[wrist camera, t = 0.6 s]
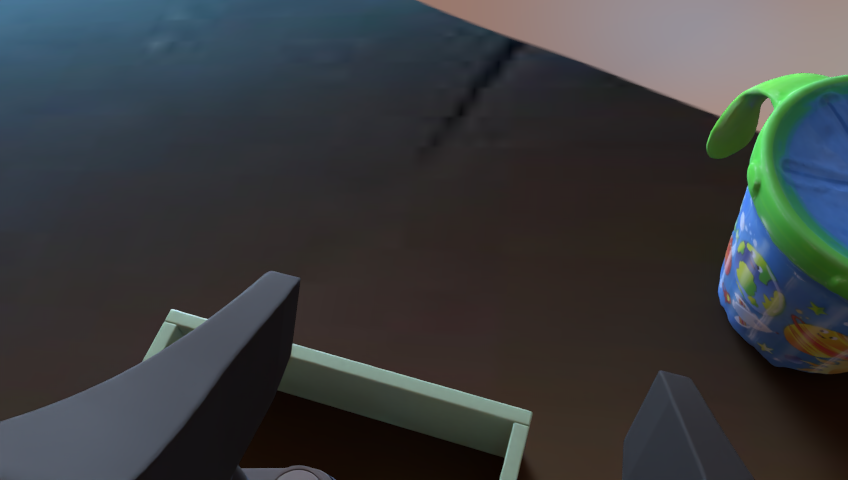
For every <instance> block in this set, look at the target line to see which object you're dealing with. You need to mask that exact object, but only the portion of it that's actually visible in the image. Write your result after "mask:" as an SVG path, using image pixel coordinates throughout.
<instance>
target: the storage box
mask: <svg viewBox="0 0 848 480" xmlns="http://www.w3.org/2000/svg"><path fill="white" fill-rule="evenodd" d="M206 320H208V319H204V318H201V317H197V316H194V315H190V314H187V313H183V312H180V311H176V310H173V309H171V311H170V312H169V314H168V316H167V318H166V320H165V322H164V323H163V325H162V327H161V329H160V330H159V332H158V334H157V336H156V338H155V339H154V341H153V343H152V345H151V347H150V349H149V350H148V352H147V354H146V356H145V358H144V359H143V361H145V360H147V359H148V358H150V357H152V356H153V355H155V354H157V353H159V352H160V351H162V350H163V349H165V348H167V347H168V346H170V345H171V344H173V343H174V342H176V341H177V340H179V339H180V338H182V337H183V336H185V335H186V334H188V333H189V332H191V331H192V330H194V329H195V328H197V327H198V326H200V325H201V324H202V323H204V322H205V321H206ZM143 361H142V362H143ZM278 391H282V392H285V393H288V394H292V395H295V396H298V397H302V398H305V399H309V400H312V401H315V402H319V403H322V404H325V405H329V406H332V407H335V408H339V409H342V410H346V411H349V412H352V413H356V414H359V415H362V416H366V417H369V418H372V419H376V420H379V421H383V422H386V423H389V424H393V425H396V426H399V427H403V428H406V429H409V430H413V431H416V432H420V433H423V434H426V435H430V436H433V437H436V438H440V439H443V440H446V441H450V442H453V443H456V444H460V445H463V446H467V447H470V448H473V449H477V450H480V451H483V452H487V453H490V454H493V455H497V456H500V457H504V458H505V459H504V463H503V467H502V471H501V475H500V479H499V480H517V478H518V473H519V469H520V465H521V461H522V457H523V452H524V448H525V444H526V440H527V436H528V431H529V427H530V423H531V419H532V414H533V413H532V412H531V411H527V410H524V409H520V408H517V407H513V406H510V405H506V404H503V403H499V402H496V401H492V400H489V399H485V398H482V397H478V396H475V395H471V394H468V393H464V392H461V391H457V390H454V389H450V388H447V387H443V386H440V385H436V384H433V383H429V382H426V381H422V380H419V379H415V378H412V377H408V376H405V375H401V374H398V373H394V372H390V371H387V370H383V369H380V368H376V367H373V366H369V365H366V364H362V363H359V362H355V361H352V360H348V359H345V358H341V357H338V356H334V355H331V354H327V353H324V352H320V351H317V350H313V349H310V348H306V347H303V346H299V345H296V344H292V351H291V356H290V359H289V361H288V364H287V366H286V369H285V372H284V374H283V377H282V380H281V382H280V385H279V387H278Z"/></svg>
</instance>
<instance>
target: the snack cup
mask: <svg viewBox="0 0 848 480" xmlns="http://www.w3.org/2000/svg"><path fill="white" fill-rule="evenodd" d="M767 98H770V99H771V102H772V104H773V107H774V111H773V113H772V114H771V115H770V117H769V118H768V120H767V121H766V123H765V125H764V126H763V128H762V130H761V132H760V134H759V136H758V138H757V141H756V143H755V146H754V149H753V152H752V155H751V159H750V165H749V167H748V171H747V180H748V187H747V191H746V194H745V197H744V199H743V202H742V205H741V209H740V214H739V216H738V218H737V221H736V224H735V229H734V231H733V233H732V236H731V239H730V242H729V244H728V248H727V251H726V256H725V259H724V262H723V265H722V268H721V273H720V283H719V288H718V294H719V298H720V304H721V305H722V306H723V307H724V309H725V311H726V313H727V316H728V320H729V322H730V323H731V325H732V327H733V328H734V329H735V330H736V331H737V332H738V333H739V334H740V335H741V336H742V337H743V339H744V340H745V341H746V342H748V343H749V344H750V345H752V346H753V347H755V349H756V350H757V351H758V352H759V353H760V354H761V355H762V356H763V357H764V358H766V359H767V360H768V361H769V362H770V363H771V364H772V365H774V366H776V367H787V368H792V369H795V370H799V371H803V372H808V373H821V374H837V373H843V372H848V75H842V76H836V77H831V78H830V77H827V76H823V75H818V74H810V73H799V74H791V75H786V76H782V77H779V78H775V79H772V80H768V81H766V82H763V83H761V84H759V85H756V86H754V87H752V88H750V89H748V90H746V91H744V92H743V93H742V94H740V95H739V96H738V97H737V98H735V100H734V101H733V102H732V103H731V104H730V105H729V106H728V107H727V109H726V110H725V111H724V112H723V114H722V115H721V117H720V118H719V120H718V121H717V122H716V124H715V126H714V128H713V129H712V131H711V133H710V136H709V139H708V141H707V153H708V155H709V156H710V157H711V158H715V159H721V158H725V157H728V156H730V155H732V154H734V153H736V152H737V151H739V150H740V149H742V148H743V147H744V146H746V145H747V144H748V143H749V142H750V141H751V139H752V138H753V136H754V133H755V130H756V127H757V124H758V119H759V113H760V107H761V104H762V103H763V102H764V101H765V99H767Z"/></svg>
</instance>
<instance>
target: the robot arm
mask: <svg viewBox="0 0 848 480" xmlns="http://www.w3.org/2000/svg"><path fill="white" fill-rule="evenodd" d="M300 279H301V278H298V277H294V276H290V275H286V274H282V273H278V272H274V271H269V272H267V273H265V274H264V275H263V276H262V277H261V278H259V279H258V280H257V281H256V282H255V283H254V284H252V285H251V286H250V287H249V288H248V289H246V290H245V291H244V292H243V293H242V294H240V295H239V296H238V297H237V298H235V299H234V300H233V301H232V302H230V303H229V304H228V305H226V306H225V307H224V308H223V309H221V310H220V311H218V312H217V313H216V314H214V315H213V316H212V317H210V318H209V319H208V320H206V321H205V322H204V323H202V324H201V325H200V326H198V327H197V328H195V329H194V330H192V331H191V332H189V333H188V334H186V335H185V336H183V337H182V338H180V339H179V340H177V341H176V342H174V343H173V344H171V345H170V346H168V347H167V348H165V349H163V350H162V351H160V352H159V353H157V354H155V355H153V356H152V357H150V358H148V359H147V360H145V361H143V362H141V363H140V364H138V365H136V366H134V367H132V368H130V369H129V370H127V371H125V372H123V373H121V374H119V375H117V376H115V377H113V378H111V379H109V380H107V381H105V382H103V383H101V384H98V385H96V386H94V387H92V388H90V389H87V390H85V391H83V392H81V393H78V394H76V395H74V396H72V397H69V398H67V399H64V400H61V401H59V402H56V403H54V404H51V405H48V406H46V407H43V408H40V409H37V410H34V411H32V412H29V413H26V414H23V415H20V416H17V417H14V418H11V419H8V420H4V421H1V422H0V480H230V479H231V477H232V475H233V474H234V472H235V470H236V468H237V466H238V464H239V462H240V461H241V459H242V457H243V455H244V453H245V451H246V450H247V448H248V446H249V444H250V442H251V440H252V439H253V437H254V435H255V433H256V431H257V429H258V427H259V426H260V424H261V422H262V420H263V418H264V416H265V414H266V412H267V411H268V409H269V407H270V405H271V403H272V401H273V399H274V397H275V395H276V392H277V390H278V387H279V385H280V382H281V380H282V377H283V374H284V372H285V369H286V366H287V364H288V361H289V359H290V356H291V351H292V343H293V335H294V327H295V319H296V311H297V303H298V295H299V287H300ZM622 480H755V479H754V478H753V476H752V475H751V473H750V472H749V471H748V469H747V468H746V466H745V465H744V463H743V462H742V460H741V459H740V457H739V455H738V454H737V452H736V451H735V449H734V448H733V446H732V445H731V443H730V441H729V440H728V438H727V437H726V435H725V434H724V432H723V430H722V429H721V427H720V425H719V424H718V422H717V421H716V419H715V417H714V416H713V414H712V412H711V411H710V409H709V407H708V406H707V404H706V402H705V401H704V399H703V398H702V396H701V394H700V393H699V391H698V389H697V388H696V386H695V385H694V383H693V381H692V380H691V378H688V377H684V376H680V375H676V374H672V373H668V372H664V371H661V370H659V372H658V374H657V376H656V378H655V380H654V382H653V384H652V386H651V388H650V390H649V392H648V394H647V396H646V398H645V400H644V402H643V404H642V406H641V408H640V410H639V412H638V414H637V416H636V418H635V420H634V422H633V424H632V426H631V428H630V430H629V432H628V434H627V436H626V438H625V440H624V447H623V476H622Z"/></svg>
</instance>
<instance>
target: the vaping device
mask: <svg viewBox="0 0 848 480" xmlns="http://www.w3.org/2000/svg"><path fill="white" fill-rule="evenodd" d="M230 480H336V479H334V478H333V477H331V476H329V475H328V474H326V473H324V472H323V471H321V470H318V469H315V468H310V467H307V466H301V465H297V466H291V467H287V468H245V469H241V468H240V466H239V465H238V466H237V468H236V470H235V472H234V474H233V475H232V477H231V479H230Z"/></svg>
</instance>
